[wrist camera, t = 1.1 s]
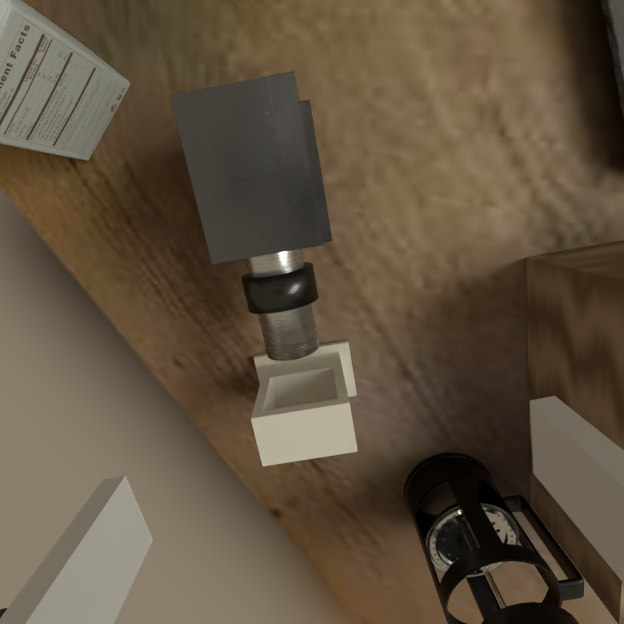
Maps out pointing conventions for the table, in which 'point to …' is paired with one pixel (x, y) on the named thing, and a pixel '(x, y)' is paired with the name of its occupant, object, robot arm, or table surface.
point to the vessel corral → (578, 375)
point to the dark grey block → (253, 167)
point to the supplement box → (52, 86)
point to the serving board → (616, 40)
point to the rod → (283, 303)
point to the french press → (485, 542)
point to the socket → (305, 405)
